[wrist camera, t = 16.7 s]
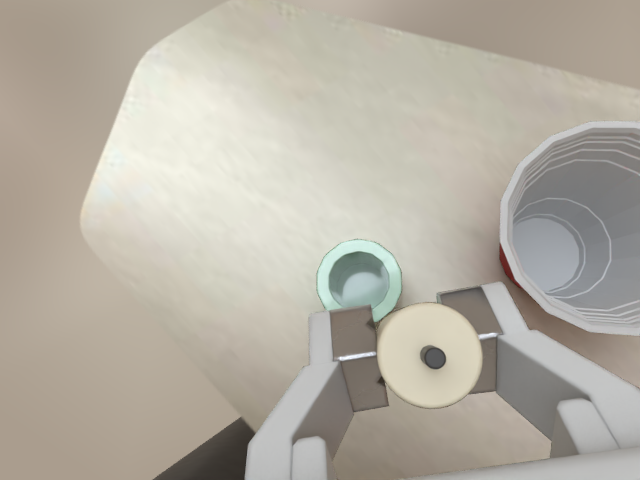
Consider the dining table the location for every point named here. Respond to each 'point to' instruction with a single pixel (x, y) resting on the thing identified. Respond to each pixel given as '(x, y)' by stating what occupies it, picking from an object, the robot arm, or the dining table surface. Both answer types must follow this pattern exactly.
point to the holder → (359, 278)
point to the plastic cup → (578, 226)
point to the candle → (429, 355)
